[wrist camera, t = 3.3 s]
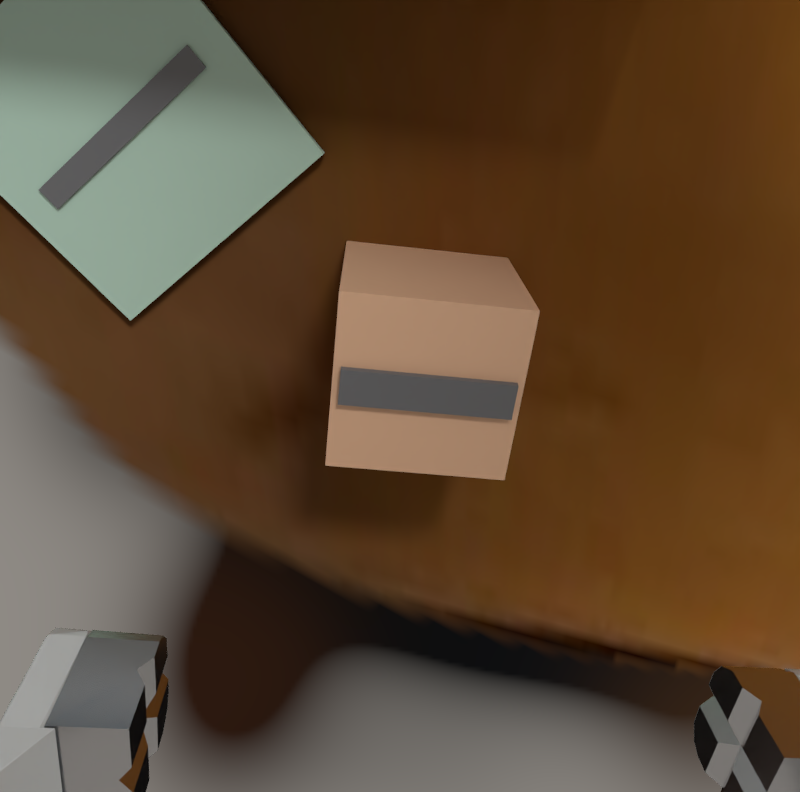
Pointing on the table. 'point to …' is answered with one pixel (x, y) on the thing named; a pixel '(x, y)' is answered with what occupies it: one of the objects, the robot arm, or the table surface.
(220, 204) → the white l-shaped bracket
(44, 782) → the robot arm
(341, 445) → the cube
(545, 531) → the table surface
